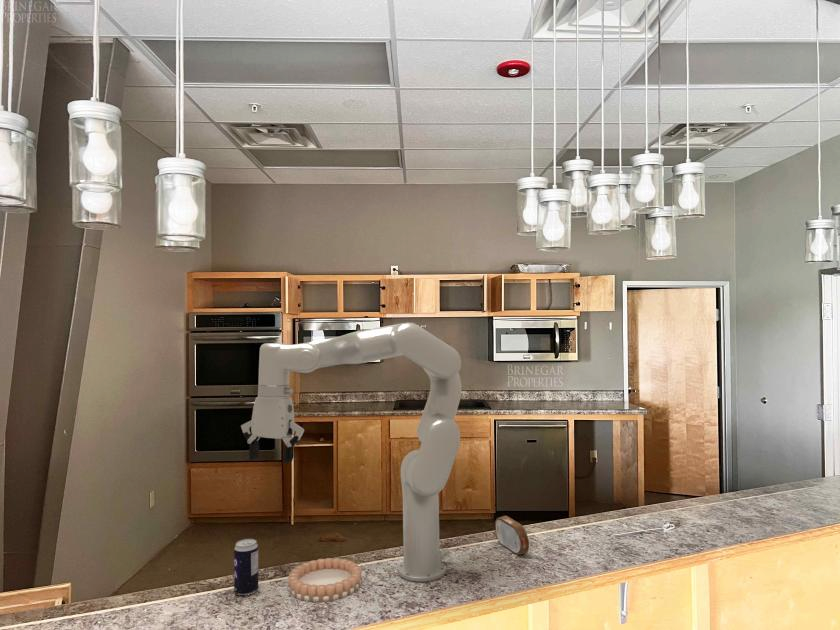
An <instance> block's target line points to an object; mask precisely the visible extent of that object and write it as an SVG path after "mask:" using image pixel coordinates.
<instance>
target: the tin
mask: <svg viewBox="0 0 840 630" xmlns="http://www.w3.org/2000/svg"><path fill="white" fill-rule="evenodd" d="M494 523H495V524H494V525H495V526H494V527H495V535H496V538H497V540H498V542H499V544H500V545H501V546H503V547H504V548H506V549H507V550H508V551H509V552H511V551H512V552H511V553H513V554H514V555H517V556H520V555H524V554H528V552H529V549H530V541H529V536H528V534H527V531H526V529H525V528H524V526H523V525H522V524H521V523H520V522H518V521H516V520H514V519H513V518H511V517H509V516H507V515H502V516H499V517H497V518H496V520H495V522H494Z"/></svg>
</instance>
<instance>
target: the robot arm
mask: <svg viewBox="0 0 840 630" xmlns="http://www.w3.org/2000/svg"><path fill="white" fill-rule="evenodd" d="M258 356H259V358H258V359H259V360H258V385H257V387H258V388H257V397H255V400H254V404H253V408H252V415H251V420H249V421H247V422H245V423H243V424H241V425H240V428H241V430H242V433H243V437H244V438H245V439H246V442H247V444H249V446H248V447H249V448H248V455H249V460H250V461H254V460H257V459H259V458H260V442H259V440H260V438H265V439H279V440H281V439H282V441H283V443H284V444H285V446H284V448H283V464H289V463H292V462H293V459H294V457H295V456H294V454H295V453H294V452H295V446H296V445H297V443H298V442H299V441H300V440H301V439H302V436H303V434H304V432H305V429H304V428H303V427H301V426H300V425H299V424H298V423H296V422H295V410H294V409H295V408H294V403H293V397H290V394H293V393H294V389H293V388H291V387H290V373H291V372H295V373H303V374H308V373H312V372H314V371H315V370H317V369H321V368H327V367H333V366H339V365H359V364H367V363H369V362H375V361H381V360H385V359H391V358H396V357H399V356H405V357H406V358H407V359H409V360H411V361H412V362H413V363H415V364H417V365H418V366H420V367H422V369H423V370H424V372H425V373H426V374H427V376H428V378H429V381H430V390H429V393H428V397H427V400H426V403H425V406H424V409H423V410H422V413H421V417H420V419H419V422H418V425H417V429H416V434H417V435H416V436H417V438H418V441H420V443H421V444H420V447H419V449H415V450H412V451H410V452H409V453H407V454H406V455H405V456H404V458H403V459H402V462H401V465H400V481H401V482H400V483H401V491H402V492H401V493H402V494H401V495H402V529H403V530H402V532H403V534H402V535H403V538H402V539H403V561H402V562H401V563H400V564H399V565H398V567H397V572H398V575H399V576H400V577H401V578H403V579H405V580H408V581H412V582H422V583H423V582H431V581H435V580H438V579H441V578H442V577H443V576H444V575H445V573H447V571H446V569H447V567H446V565H445V563H443V562H442V560H443V559H444V558H445V557H447V556H448V555H450V553H451V551H450V548H448V547H445V548H442V549H441V550H440V518H439V517H440V516H439V512H440V509H439V507H440V505H439V493H441V491H442V490H443V489H444V488H445V486H446V484H447V482H448V480H449V477H450V475H451V471H452V468H453V466H454V463H455V460H456V456H457V454H458V451H459V448H460V445H461V444H460V443H461V431H460V428H459V426H458V424H457V423H456V421H455V420H456V419H455V418H456V416H457V412H458V408H459V405H460V403H461V402H460V401H461V399H462V398H461V396H462V392H463V391H462V381H461V380H462V379H461V377H460V376H461V375H460V373H459V372H460V370H461V369H462V368H461V367H462V359H461V355H460V354H459V352H458V351H457V350H456V349H455V348H454V347H452V346H451V345H450V344H448V343H446V342H445V341H443V340H441V339H440V338H438V337H437V336H435V335H434V334H432V333H431V332H429V331H427V330H426V329H425V328H423V327H421V326H420V325H418V324H416V323H414V322H402V323H396V324H391V325H385V326H381V327H375V328H368V329H362V330H357V331H353V332H350V333H346V334H343V335H340V336H335V337H330V338H324V339H319V340H314V341H310V342H309V341H308V342H302V343H296V344H287V343H279V342H278V343H273V342H271V343H270V342H267V343H266V342H265V343H263V344H261V346H260V347H259V355H258ZM250 430H251V431H250ZM294 434H295V435H294ZM293 435H294V436H293Z"/></svg>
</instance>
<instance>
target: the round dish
mask: <svg viewBox="0 0 840 630" xmlns="http://www.w3.org/2000/svg"><path fill="white" fill-rule="evenodd" d="M361 569H362V567H361V566H360V565H359V564H358V563H357V562H354V561H353V560H348V559H347V558H339V557H334V558H332V557H327V558H318V559H317V560H315V559H314V560H313V559H312V560H310V561H308V562H302V564H301V565H300V564H299V565H296V566H295V568H292V569H291V572H289V573H288V578H287V579H288V589H287V590H289V591H288V592H289V594H290V595H291V596H292V595H293V596H292V597H294V598H295V599H296V600H297V599H298V600H300V601H304V602H312V603H323V602H332V601H336V600H341V599H344V598H346V597H349V596H350V595H352V594H354V593H356V591H358V589H360V588H361V586H362V581H363V580H362V570H361Z"/></svg>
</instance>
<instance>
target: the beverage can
mask: <svg viewBox="0 0 840 630" xmlns="http://www.w3.org/2000/svg"><path fill="white" fill-rule="evenodd" d="M233 581H234V582H233V591H234V592H235V593H236V594H237V595H238V594H239V595H238V596H240V595H248V594H251V593H253V592H254V593H255V592H256V590H258V588H259V545H258V543H257V539H253V538H244V539H241V540H238V541H237V542H236V543H235V547H234V549H233ZM254 593H253V594H254ZM251 595H252V594H251ZM248 596H249V595H248Z"/></svg>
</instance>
